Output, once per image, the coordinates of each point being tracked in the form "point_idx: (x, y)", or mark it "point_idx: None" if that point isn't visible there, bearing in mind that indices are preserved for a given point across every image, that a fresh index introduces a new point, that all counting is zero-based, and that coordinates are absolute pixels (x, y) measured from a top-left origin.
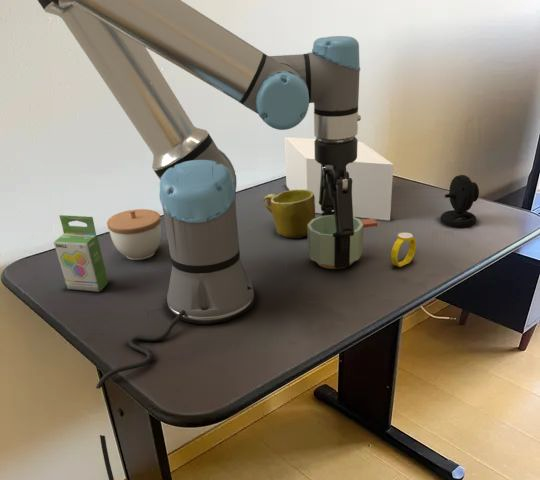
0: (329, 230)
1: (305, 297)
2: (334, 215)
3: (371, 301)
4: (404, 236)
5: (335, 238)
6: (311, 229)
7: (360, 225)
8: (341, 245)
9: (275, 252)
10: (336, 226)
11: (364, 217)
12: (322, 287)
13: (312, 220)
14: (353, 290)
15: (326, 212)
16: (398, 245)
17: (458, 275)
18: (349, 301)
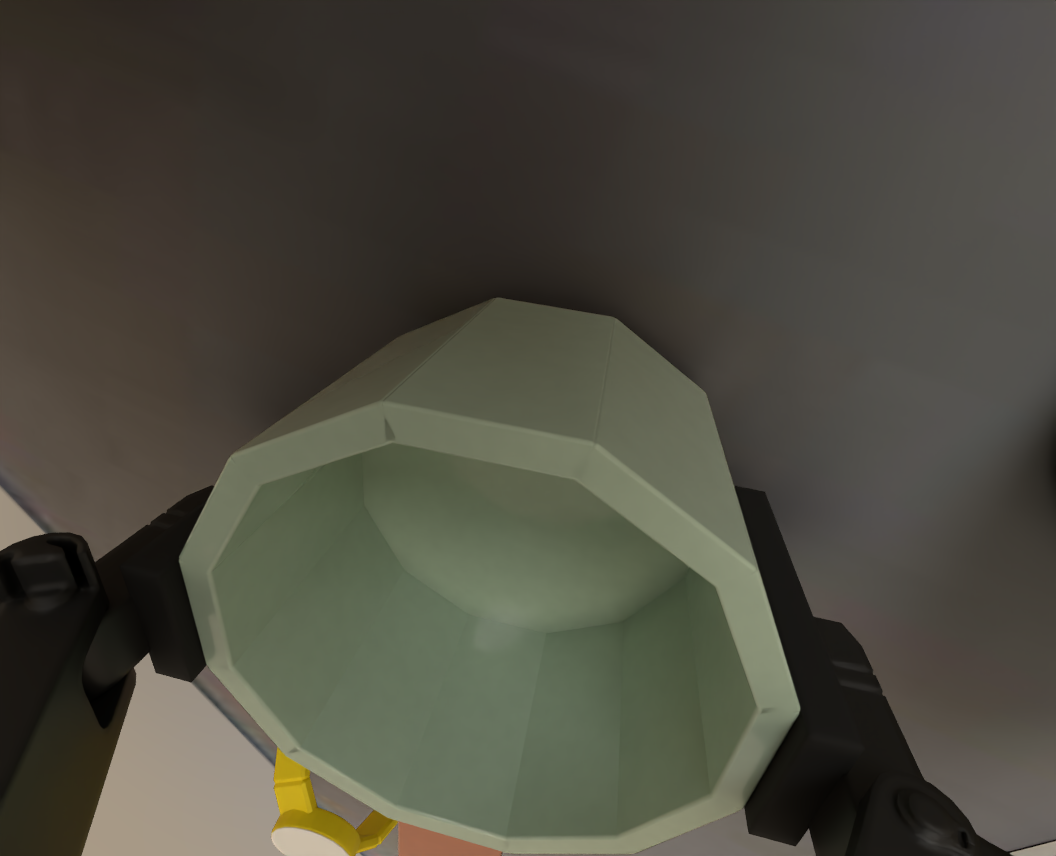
0: (711, 611)
1: (67, 74)
2: (2, 806)
3: (58, 424)
4: (291, 841)
5: (158, 544)
6: (400, 425)
7: (373, 799)
8: (145, 532)
9: (979, 43)
10: (15, 659)
11: (1043, 848)
12: (200, 246)
13: (715, 561)
14: (161, 397)
15: (823, 783)
16: (279, 769)
17: (263, 755)
18: (46, 329)
